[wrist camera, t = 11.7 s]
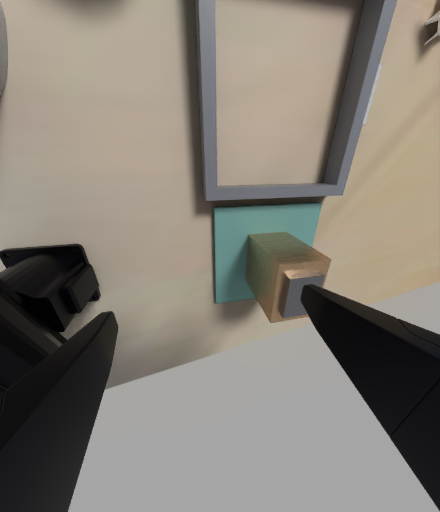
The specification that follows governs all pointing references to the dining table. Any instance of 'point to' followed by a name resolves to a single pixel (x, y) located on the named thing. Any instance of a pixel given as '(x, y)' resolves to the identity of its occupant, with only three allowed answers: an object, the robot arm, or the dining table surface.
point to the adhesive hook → (437, 16)
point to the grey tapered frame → (349, 118)
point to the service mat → (253, 222)
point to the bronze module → (282, 273)
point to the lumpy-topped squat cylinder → (3, 50)
